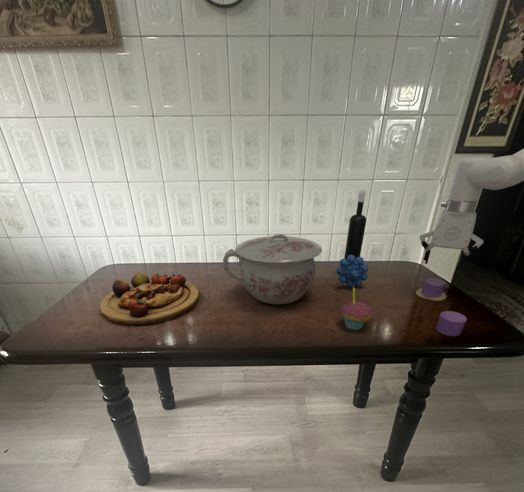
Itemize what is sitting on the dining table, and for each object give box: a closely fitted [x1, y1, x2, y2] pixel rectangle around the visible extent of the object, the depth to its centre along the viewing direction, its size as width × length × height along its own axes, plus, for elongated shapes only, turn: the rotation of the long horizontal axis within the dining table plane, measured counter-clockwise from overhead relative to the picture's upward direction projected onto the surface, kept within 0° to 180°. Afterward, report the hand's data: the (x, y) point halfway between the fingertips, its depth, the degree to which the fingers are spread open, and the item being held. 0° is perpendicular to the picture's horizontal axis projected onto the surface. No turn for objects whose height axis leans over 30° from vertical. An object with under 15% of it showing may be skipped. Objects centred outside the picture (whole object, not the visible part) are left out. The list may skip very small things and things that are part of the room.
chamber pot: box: [222, 233, 323, 305], centre depth 98 cm, size 28×28×21 cm
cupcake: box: [340, 285, 373, 331], centre depth 84 cm, size 9×8×12 cm
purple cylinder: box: [421, 277, 446, 298], centre depth 102 cm, size 6×6×4 cm
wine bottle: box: [343, 189, 367, 260], centre depth 111 cm, size 6×6×30 cm
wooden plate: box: [98, 271, 201, 325], centre depth 99 cm, size 32×32×8 cm
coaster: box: [415, 288, 448, 302], centre depth 103 cm, size 10×10×1 cm
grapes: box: [335, 255, 369, 289], centre depth 105 cm, size 12×7×12 cm, turn 93°
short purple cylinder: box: [435, 310, 468, 337], centre depth 83 cm, size 6×6×4 cm
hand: (442, 264), depth 97 cm, fingers open, 9 cm apart
